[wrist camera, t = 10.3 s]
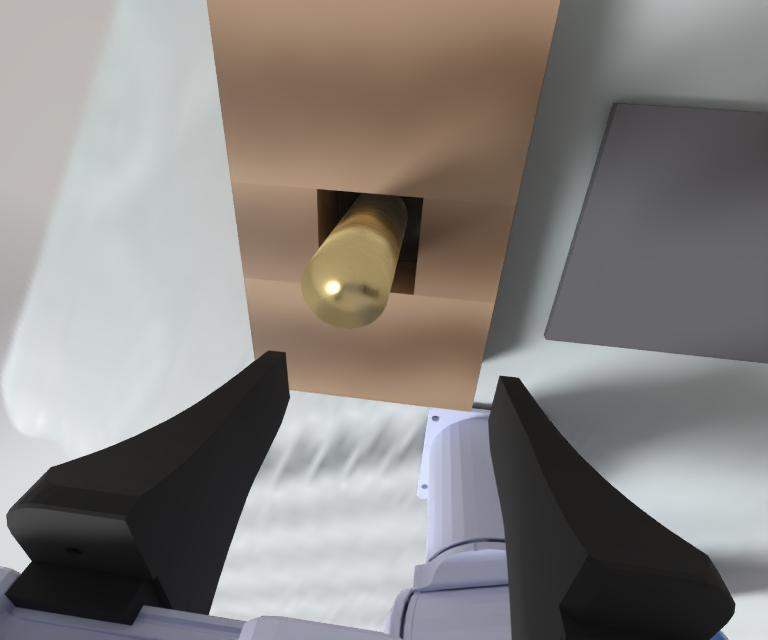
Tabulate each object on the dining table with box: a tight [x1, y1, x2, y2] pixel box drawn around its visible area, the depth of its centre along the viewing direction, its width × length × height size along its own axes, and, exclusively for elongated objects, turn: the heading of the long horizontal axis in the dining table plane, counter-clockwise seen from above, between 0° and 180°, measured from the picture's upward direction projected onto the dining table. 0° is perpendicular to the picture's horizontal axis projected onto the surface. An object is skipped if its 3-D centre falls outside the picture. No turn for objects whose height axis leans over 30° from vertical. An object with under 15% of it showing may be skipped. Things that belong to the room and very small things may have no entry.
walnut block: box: [207, 0, 561, 412], centre depth 20 cm, size 18×12×4 cm, turn 177°
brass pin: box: [301, 193, 408, 329], centre depth 18 cm, size 3×3×9 cm
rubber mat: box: [544, 103, 768, 363], centre depth 20 cm, size 12×12×1 cm
